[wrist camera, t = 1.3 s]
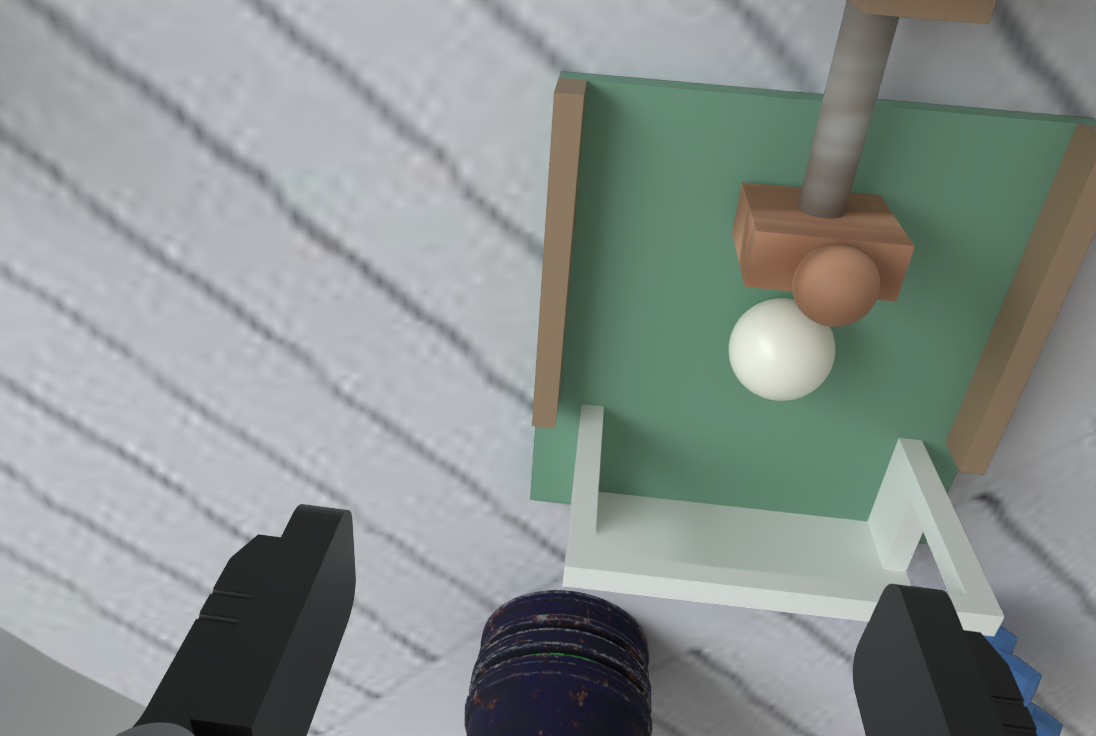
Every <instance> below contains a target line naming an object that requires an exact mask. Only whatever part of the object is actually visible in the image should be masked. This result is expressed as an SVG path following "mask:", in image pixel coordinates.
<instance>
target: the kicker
mask: <svg viewBox="0 0 1096 736" xmlns="http://www.w3.org/2000/svg"><path fill="white" fill-rule="evenodd" d="M996 1H997V0H847V2H846V6H845V10H844V14H843V18H842V23H841V27H840V31H839V35H838V39H837V43H836V47H835V52H834V56H833V60H832V64H831V68H830V72H829V76H828V81H827V85H826V89H825V93H824V97H823V101H822V105H821V109H820V114H819V118H818V122H817V126H816V130H815V134H814V138H813V143H812V147H811V151H810V155H809V159H808V163H807V167H806V172H805V176H804V180H803V184H802V188H798V187H787V186H777V185H766V184H755V183H745V182H742V185H741V190H740V196H739V201H738V206H737V211H736V216H735V221H734V226H733V231H732V235H733V239H734V243H735V248H736V252H737V256H738V260H739V265H740V269H741V273H742V278H743V282H744V286H745V287H752V288H762V289H772V290H782V291H792V292H793V296H794V300H795V302H796V304H797V306H798V308H799V309H800V311H801V312H802V313H803V314H804V315H805V316H806V317H808V318H809V319H810V320H812V321H814V322H816V323H818V324H821V325H824V326H830V327H840V326H846V325H849V324H852V323H854V322H856V321H858V320H860V319H861V318H863V317H864V316H865V315H866V314H868V312H869V311H870V310H871V309H872V308H873V306H874V305H875V303H876V301H877V300H883V301H893V302H896V301H897V298H898V295H899V292H900V289H901V286H902V283H903V280H904V277H905V274H906V271H907V268H908V265H909V262H910V259H911V256H912V253H913V250H914V247H915V246H914V245H913V243H912V242H911V240H910V239H909V237H908V236H907V234H906V233H905V231H904V230H903V228H902V227H901V225H900V224H899V222H898V221H897V219H896V218H895V216H894V215H893V213H892V212H891V210H890V209H889V207H888V206H887V205H886V203H885V202H884V200H883V199H882V197H881V196H880V195H873V194H862V193H851V190H852V186H853V183H854V179H855V175H856V172H857V168H858V164H859V161H860V157H861V154H862V150H863V146H864V143H865V139H866V136H867V132H868V128H869V125H870V121H871V117H872V114H873V110H874V107H875V103H876V99H877V96H878V92H879V88H880V85H881V81H882V78H883V74H884V70H885V67H886V63H887V60H888V56H889V52H890V49H891V45H892V41H893V38H894V34H895V31H896V27H897V23H898V20H899V17H909V18H921V19H932V20H944V21H956V22H968V23H980V24H989V22H990V19H991V16H992V13H993V10H994V7H995V4H996Z"/></svg>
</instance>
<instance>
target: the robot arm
mask: <svg viewBox="0 0 1096 736" xmlns="http://www.w3.org/2000/svg"><path fill="white" fill-rule="evenodd" d="M355 584H356V575H355V558H354V540H353V523H352V515H351V512H350V511H349V510H343V509H335V508H327V507H320V506H312V505H305V504H300V505H299V506H298V507H297V508H296V509H295V511H294V513H293V514H292V516H291V518H290V520H289V522H288V524H287V526H286V528H285V530H284V532H283V534H282V536H281V537H274V536H266V535H259V534H258V535H257V536H256V537H255V538H253V539H252V540H251V541H250V542H249V543H248V544H246V545H245V546H244V547H243V548H242V549H241V550H239V551H238V552H237V553H236V554H235V555H233V556H232V557H231V558H230V559H229V561H228V563H227V565H226V566H225V568H224V570H223V572H222V574H221V575H220V577H219V579H218V581H217V583H216V584H215V586H214V588H213V593H212V594H210V595H209V597H208V599H207V600H206V602H205V604H204V606H203V608H202V609H201V611H200V615H199V618H198V619H196V620H195V622H194V624H193V625H192V627H191V629H190V631H189V633H188V634H187V636H186V638H185V640H184V642H183V643H182V645H181V647H180V649H179V651H178V652H177V654H176V656H175V658H174V659H173V661H172V663H171V665H170V667H169V668H168V670H167V672H166V674H165V676H164V677H163V679H162V681H161V683H160V685H159V686H158V688H157V690H156V692H155V694H154V695H153V697H152V699H151V701H150V702H149V704H148V706H147V708H146V710H145V711H144V713H143V714H142V716H141V717H140V719H139V720H138V721H137V722H136V724H135V725H134V726H133V727H132V728H130V729H128V730H126V731H124V732H121V733H119V734H118V735H116V736H307V733H308V730H309V727H310V725H311V722H312V719H313V716H314V714H315V711H316V708H317V705H318V703H319V700H320V697H321V695H322V692H323V689H324V686H325V684H326V681H327V678H328V675H329V673H330V670H331V667H332V664H333V662H334V659H335V656H336V653H337V651H338V648H339V645H340V642H341V640H342V637H343V634H344V632H345V629H346V626H347V623H348V620H349V617H350V614H351V610H352V605H353V600H354V594H355ZM853 683H854V690H855V694H856V698H857V702H858V706H859V710H860V714H861V718H862V722H863V726H864V730H865V734H866V736H1037V734H1036V730H1037V728H1036V725H1035V723H1034V721H1033V719H1032V716H1031V714H1030V712H1029V710H1028V707H1025V706H1024V703H1023V702H1024V698H1023V696H1022V694H1021V692H1020V689H1019V687H1018V685H1017V683H1016V680H1015V678H1014V676H1013V674H1012V671H1011V669H1010V667H1009V665H1008V663H1007V662H1006V661H1005V660H1004V659H1003V658H1002V657H1001V655H1000V654H999V653H998V652H997V651H996V650H995V648H994V647H993V646H992V645H991V644H990V643H989V641H988V640H987V639H986V638H985V637H984V636H983V635H982V633H981V632H975V631H967V630H963V627H962V625H961V622H960V620H959V617H958V615H957V612H956V610H955V608H954V605H953V603H952V601H951V598H950V597H949V595H948V594H947V593H946V592H945V591H943V590H937V589H929V588H922V587H914V586H907V585H899V584H889V585H887V586H886V587H885V588H884V590H883V592H882V594H881V596H880V598H879V601H878V603H877V605H876V607H875V609H874V611H873V613H872V616H871V618H870V620H869V622H868V624H867V626H866V629H865V631H864V633H863V635H862V637H861V639H860V641H859V644H858V646H857V648H856V652H855V656H854V663H853Z"/></svg>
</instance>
